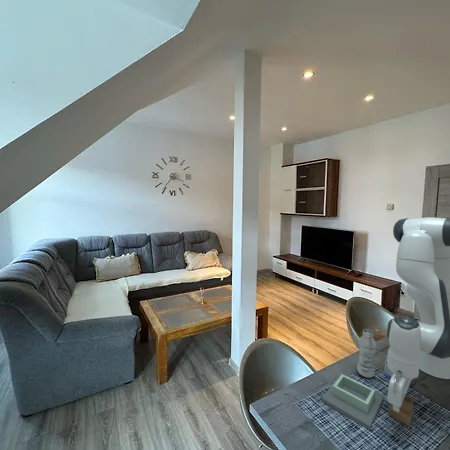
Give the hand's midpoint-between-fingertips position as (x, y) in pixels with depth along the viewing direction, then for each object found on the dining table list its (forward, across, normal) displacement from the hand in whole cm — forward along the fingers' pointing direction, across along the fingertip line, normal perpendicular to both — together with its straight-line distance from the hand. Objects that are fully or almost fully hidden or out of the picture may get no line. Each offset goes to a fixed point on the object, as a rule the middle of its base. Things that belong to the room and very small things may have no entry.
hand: (399, 401), depth 85 cm
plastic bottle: (+6, +14, +15) cm, 21 cm away
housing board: (+6, -4, +14) cm, 15 cm away
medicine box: (+6, +20, +5) cm, 22 cm away
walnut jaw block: (+6, 0, 0) cm, 6 cm away
